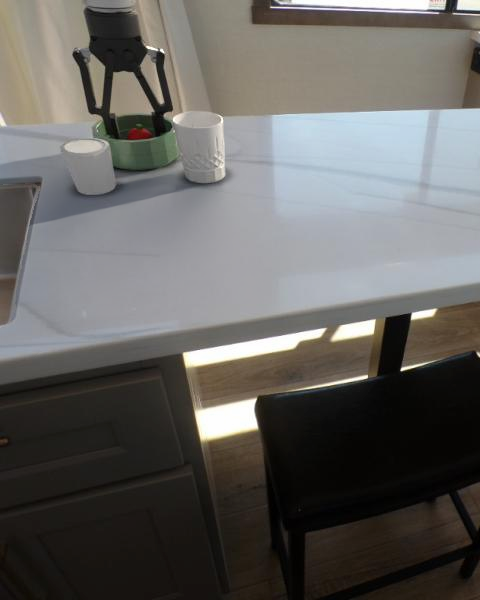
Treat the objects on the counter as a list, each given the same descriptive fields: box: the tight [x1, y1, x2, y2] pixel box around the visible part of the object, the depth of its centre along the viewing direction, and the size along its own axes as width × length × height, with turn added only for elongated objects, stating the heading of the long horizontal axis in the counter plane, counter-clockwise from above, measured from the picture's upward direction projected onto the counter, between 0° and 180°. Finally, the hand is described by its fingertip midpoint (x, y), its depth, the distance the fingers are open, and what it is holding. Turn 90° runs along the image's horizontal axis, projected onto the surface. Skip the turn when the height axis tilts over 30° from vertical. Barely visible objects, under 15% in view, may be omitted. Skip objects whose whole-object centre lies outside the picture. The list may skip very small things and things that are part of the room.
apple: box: [127, 124, 153, 140], centre depth 93 cm, size 4×4×5 cm
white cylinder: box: [59, 137, 117, 196], centre depth 83 cm, size 7×7×7 cm
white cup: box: [171, 110, 226, 184], centre depth 89 cm, size 8×8×10 cm
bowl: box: [91, 112, 180, 171], centre depth 93 cm, size 14×14×6 cm
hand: (141, 150), depth 94 cm, fingers open, 6 cm apart
